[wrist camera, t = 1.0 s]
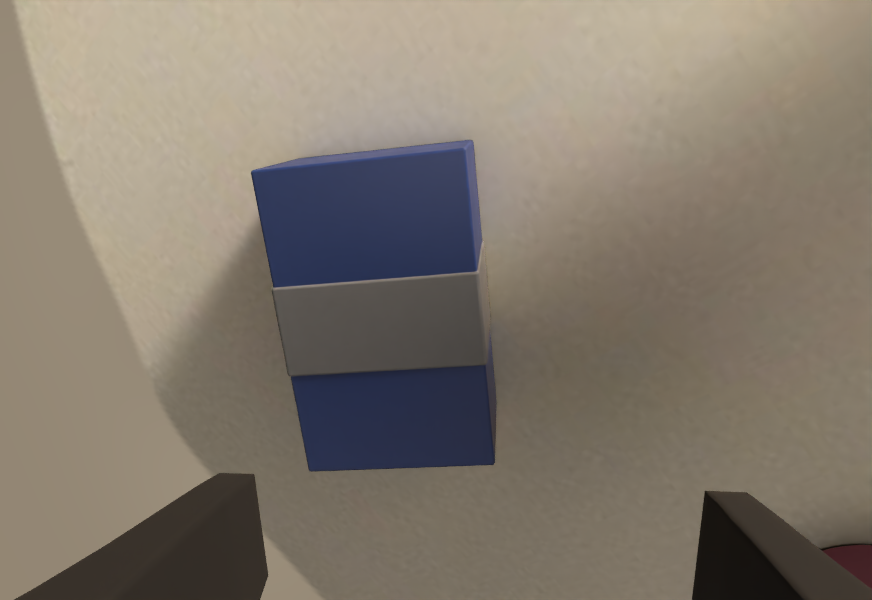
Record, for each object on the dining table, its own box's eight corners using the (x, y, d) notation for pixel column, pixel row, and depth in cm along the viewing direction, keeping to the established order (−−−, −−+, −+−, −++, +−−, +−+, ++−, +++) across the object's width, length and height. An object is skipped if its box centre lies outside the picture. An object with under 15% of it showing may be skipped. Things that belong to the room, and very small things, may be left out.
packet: (498, 402, 19) (497, 466, 16) (340, 410, 20) (305, 473, 16) (475, 139, 17) (467, 147, 13) (296, 158, 17) (246, 171, 14)
